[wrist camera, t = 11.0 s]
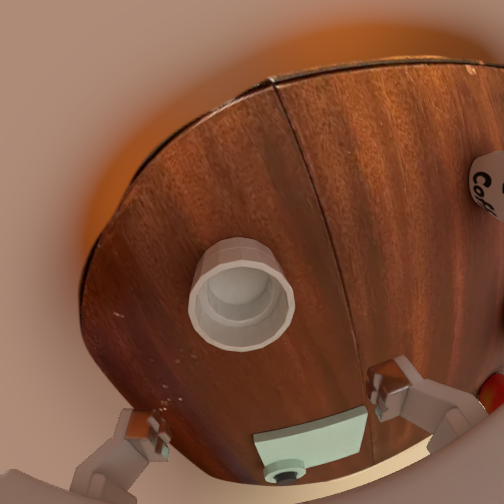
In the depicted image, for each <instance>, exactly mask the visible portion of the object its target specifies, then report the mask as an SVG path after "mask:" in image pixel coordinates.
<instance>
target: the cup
mask: <svg viewBox="0 0 504 504" xmlns="http://www.w3.org/2000/svg"><path fill="white" fill-rule="evenodd" d="M469 186H470V192H471V195H472V197H473V199H474V201H475V202H476V203H478V204H479V205H480V206H481V207H482V208H484V209H485V210H486V211H487V212H488V213H490V214H491V215H492V216H494V217H495V218H497V219H498V220H500V221H501V222H503V223H504V151H496V152H492V153H489V154H486V155H483V156H480V157H478V158H476V159H475V160H474V162H473V164H472V166H471V169H470V174H469Z"/></svg>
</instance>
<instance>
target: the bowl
mask: <svg viewBox="0 0 504 504" xmlns="http://www.w3.org/2000/svg"><path fill="white" fill-rule="evenodd" d="M294 310H295V302H294V294H293V290H292V287H291V285H290V283H289V281H288V279H287V277H286V275H285V274H284V272H283V270H282V268H281V266H280V264H279V262H278V260H277V259H276V257H275V256H274V254H273V253H272V251H271V250H270V249H269V248H268V247H266V246H265V245H263V244H261V243H260V242H258V241H257V240H254V239H248V238H242V237H234V238H230V239H225V240H221V241H219V242H217V243H216V244H214V245H213V246H212V247H210V248H209V249H207V250H206V251H205V252H204V254H203V256H202V257H201V259H200V260H199V262H198V263H197V266H196V270H195V274H194V278H193V282H192V287H191V291H190V296H189V305H188V314H189V316H190V319H191V322H192V325H193V327H194V329H195V330H196V331H197V332H198V333H199V334H200V336H201V337H202V338H203V339H204V340H205V341H206V342H208V343H210V344H212V345H214V346H216V347H219V348H221V349H223V350H229V351H238V352H245V351H250V350H255V349H260V348H263V347H265V346H266V345H268V344H270V343H272V342H273V341H275V340H277V339H278V338H279V337H280V336H281V335H282V334H283V332H284V331H285V330H286V329H287V328H288V326H289V325H290V323H291V320H292V317H293V313H294Z"/></svg>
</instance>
